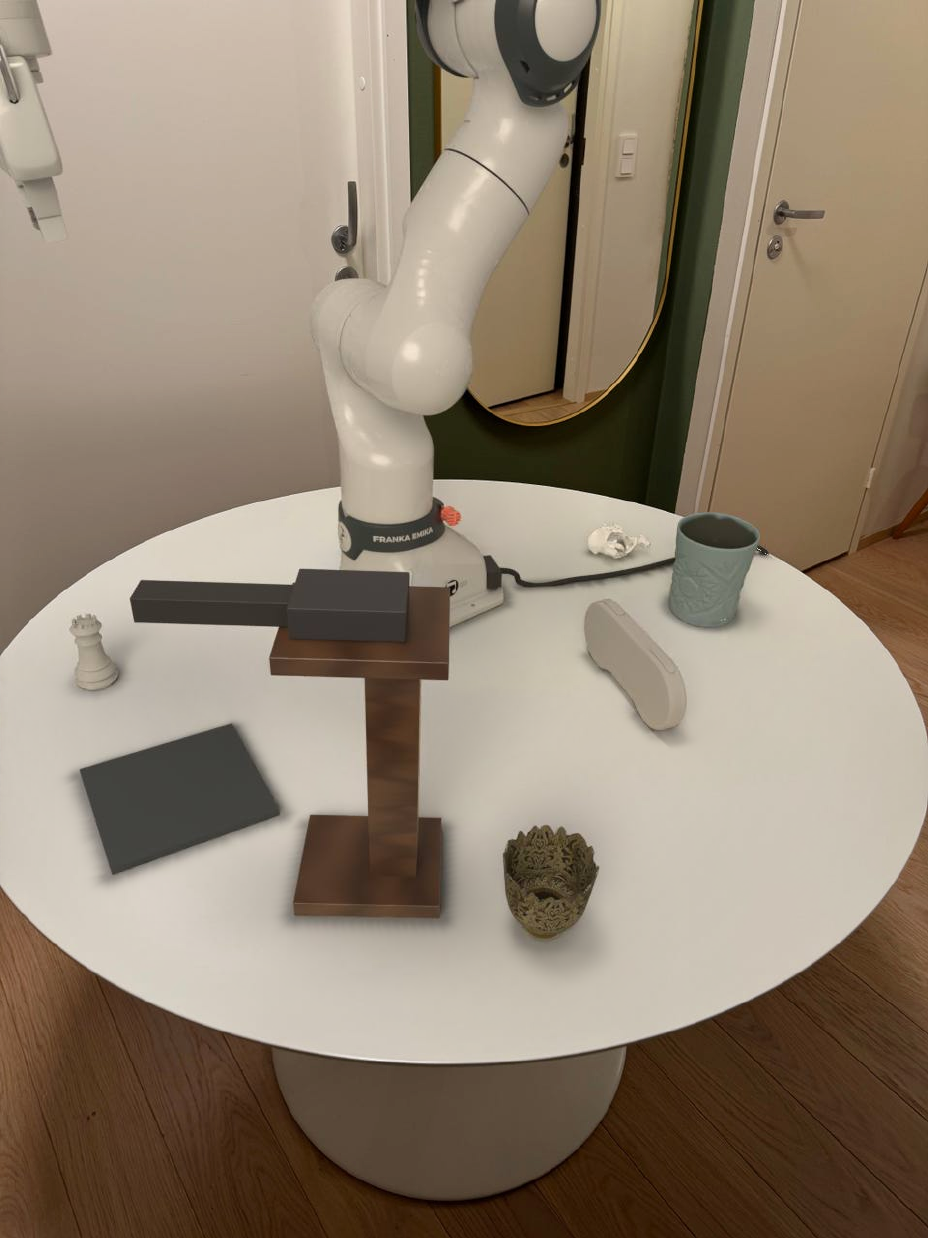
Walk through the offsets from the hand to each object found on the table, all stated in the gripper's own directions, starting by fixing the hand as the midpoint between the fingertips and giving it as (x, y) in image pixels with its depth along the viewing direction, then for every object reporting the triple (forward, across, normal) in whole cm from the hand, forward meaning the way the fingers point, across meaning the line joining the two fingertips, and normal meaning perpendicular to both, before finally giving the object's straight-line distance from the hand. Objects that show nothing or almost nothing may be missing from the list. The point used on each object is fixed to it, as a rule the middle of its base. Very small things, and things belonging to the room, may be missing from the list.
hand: (51, 234), depth 72 cm
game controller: (+54, -21, -42) cm, 72 cm away
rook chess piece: (+45, +5, +10) cm, 47 cm away
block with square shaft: (+23, -32, -5) cm, 40 cm away
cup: (+52, -44, -17) cm, 70 cm away
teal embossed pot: (+56, -11, -62) cm, 84 cm away
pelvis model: (+55, +7, -61) cm, 82 cm away
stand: (+50, -33, -6) cm, 60 cm away
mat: (+47, -16, +6) cm, 50 cm away
